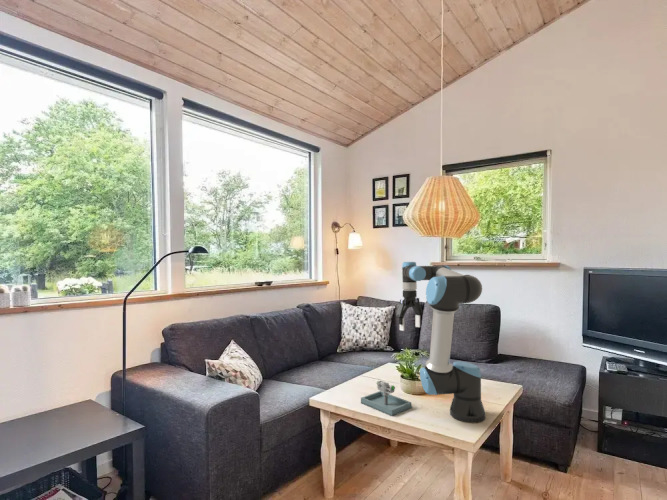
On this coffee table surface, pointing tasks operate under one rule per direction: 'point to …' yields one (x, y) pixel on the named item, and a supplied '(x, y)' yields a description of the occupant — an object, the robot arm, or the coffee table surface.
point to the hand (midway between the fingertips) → (410, 328)
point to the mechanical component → (385, 389)
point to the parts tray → (391, 408)
